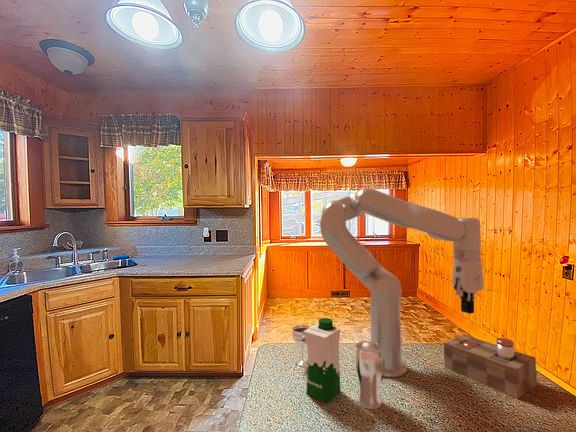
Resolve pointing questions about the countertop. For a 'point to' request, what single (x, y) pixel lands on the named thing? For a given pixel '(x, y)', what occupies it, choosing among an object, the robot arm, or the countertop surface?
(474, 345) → the peg left
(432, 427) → the countertop surface
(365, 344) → the beer glass
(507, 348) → the peg right
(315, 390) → the milk carton
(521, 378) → the tan checkered block
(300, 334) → the wineglass
